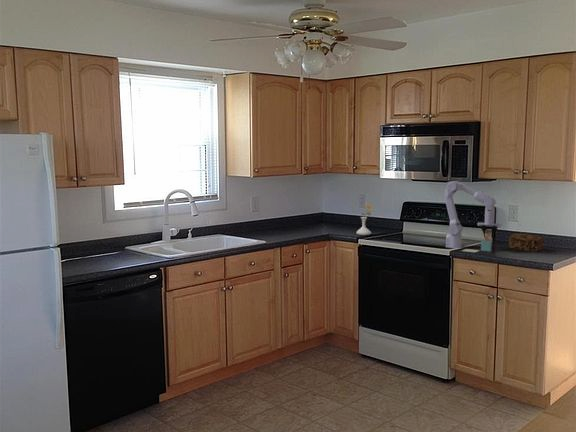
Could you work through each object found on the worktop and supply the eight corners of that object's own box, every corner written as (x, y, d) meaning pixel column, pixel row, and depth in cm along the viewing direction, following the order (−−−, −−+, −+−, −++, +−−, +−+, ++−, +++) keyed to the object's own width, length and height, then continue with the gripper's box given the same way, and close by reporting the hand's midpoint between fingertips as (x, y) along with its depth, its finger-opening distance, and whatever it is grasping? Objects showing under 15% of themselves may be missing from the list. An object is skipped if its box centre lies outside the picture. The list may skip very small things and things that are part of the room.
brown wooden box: (484, 242, 357) (485, 230, 356) (485, 241, 359) (486, 229, 358) (491, 243, 354) (491, 230, 353) (492, 242, 356) (492, 230, 355)
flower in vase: (359, 236, 422) (359, 203, 419) (354, 234, 433) (354, 202, 430) (375, 235, 425) (375, 203, 422) (369, 233, 436) (370, 201, 433)
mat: (461, 251, 354) (461, 250, 354) (466, 249, 361) (466, 248, 361) (475, 253, 348) (475, 252, 348) (480, 251, 355) (480, 250, 355)
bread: (508, 248, 365) (508, 233, 364) (515, 246, 372) (515, 232, 371) (536, 252, 352) (537, 236, 351) (543, 250, 359) (544, 234, 358)
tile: (480, 251, 355) (481, 240, 354) (481, 251, 356) (481, 240, 355) (490, 252, 351) (490, 241, 351) (490, 252, 352) (491, 241, 352)
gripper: (476, 216, 356) (475, 237, 358) (499, 217, 348) (498, 239, 349) (479, 215, 362) (479, 236, 363) (502, 216, 353) (501, 238, 355)
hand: (488, 237), depth 357 cm, fingers closed on brown wooden box, 4 cm apart
